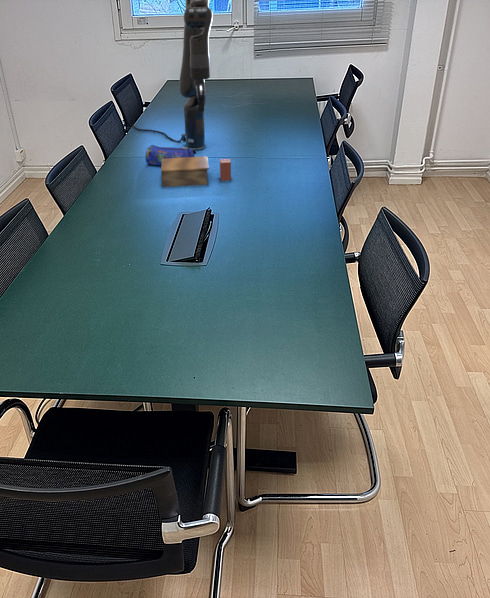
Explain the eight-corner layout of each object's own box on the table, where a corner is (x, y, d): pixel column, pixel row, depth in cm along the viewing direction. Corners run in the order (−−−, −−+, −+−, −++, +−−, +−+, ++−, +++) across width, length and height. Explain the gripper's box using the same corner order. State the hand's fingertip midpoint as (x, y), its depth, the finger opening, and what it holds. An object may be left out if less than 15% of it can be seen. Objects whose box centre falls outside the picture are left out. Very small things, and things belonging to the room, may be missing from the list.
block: (230, 178, 232) (230, 158, 227) (230, 182, 229) (230, 162, 224) (220, 178, 232) (219, 159, 227) (220, 182, 229) (220, 162, 224)
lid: (207, 157, 233) (207, 156, 232) (208, 169, 222) (208, 167, 221) (162, 160, 233) (161, 158, 232) (161, 172, 221) (161, 170, 221)
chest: (206, 174, 237) (205, 158, 233) (207, 186, 226) (207, 170, 222) (163, 175, 237) (162, 160, 233) (162, 188, 225) (161, 172, 221)
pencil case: (197, 165, 245) (196, 144, 240) (190, 172, 239) (189, 151, 233) (152, 161, 251) (150, 140, 246) (144, 167, 245) (142, 146, 239)
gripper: (210, 68, 206) (211, 115, 216) (208, 61, 217) (210, 106, 226) (190, 69, 206) (192, 116, 215) (189, 62, 216) (191, 106, 226)
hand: (201, 110), depth 221 cm, fingers closed
